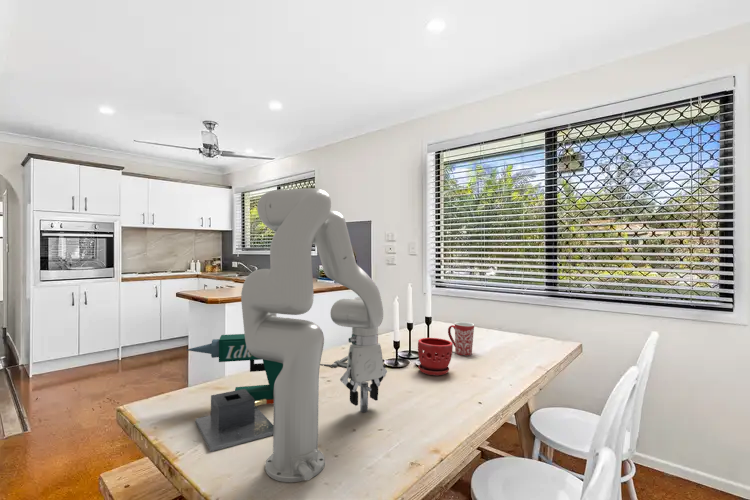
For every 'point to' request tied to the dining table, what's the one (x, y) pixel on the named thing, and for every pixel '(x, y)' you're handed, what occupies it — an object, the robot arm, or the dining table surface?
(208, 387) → the dining table surface
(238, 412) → the block
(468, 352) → the mug
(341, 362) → the c clamp
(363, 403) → the chuck key
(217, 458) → the dining table surface
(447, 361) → the plant pot
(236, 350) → the power tool
